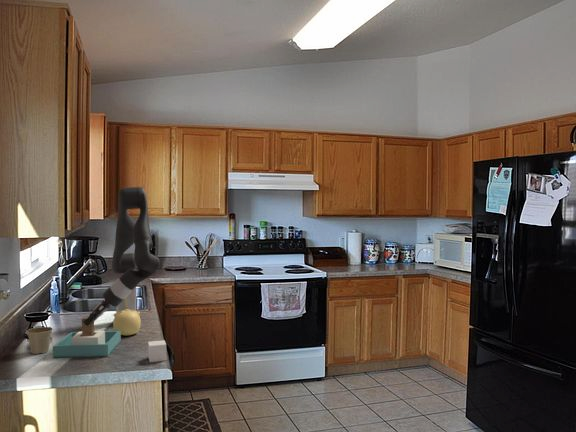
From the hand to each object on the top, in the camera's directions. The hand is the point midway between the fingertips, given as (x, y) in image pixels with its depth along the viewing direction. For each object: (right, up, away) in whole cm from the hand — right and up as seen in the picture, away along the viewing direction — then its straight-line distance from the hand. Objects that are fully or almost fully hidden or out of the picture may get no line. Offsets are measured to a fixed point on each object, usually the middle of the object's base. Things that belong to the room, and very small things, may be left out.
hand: (88, 321), depth 200 cm
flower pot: (-18, -12, -2) cm, 21 cm away
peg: (0, -10, 0) cm, 10 cm away
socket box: (0, -11, 0) cm, 11 cm away
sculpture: (+8, -11, +23) cm, 27 cm away
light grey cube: (+30, -12, -12) cm, 34 cm away
